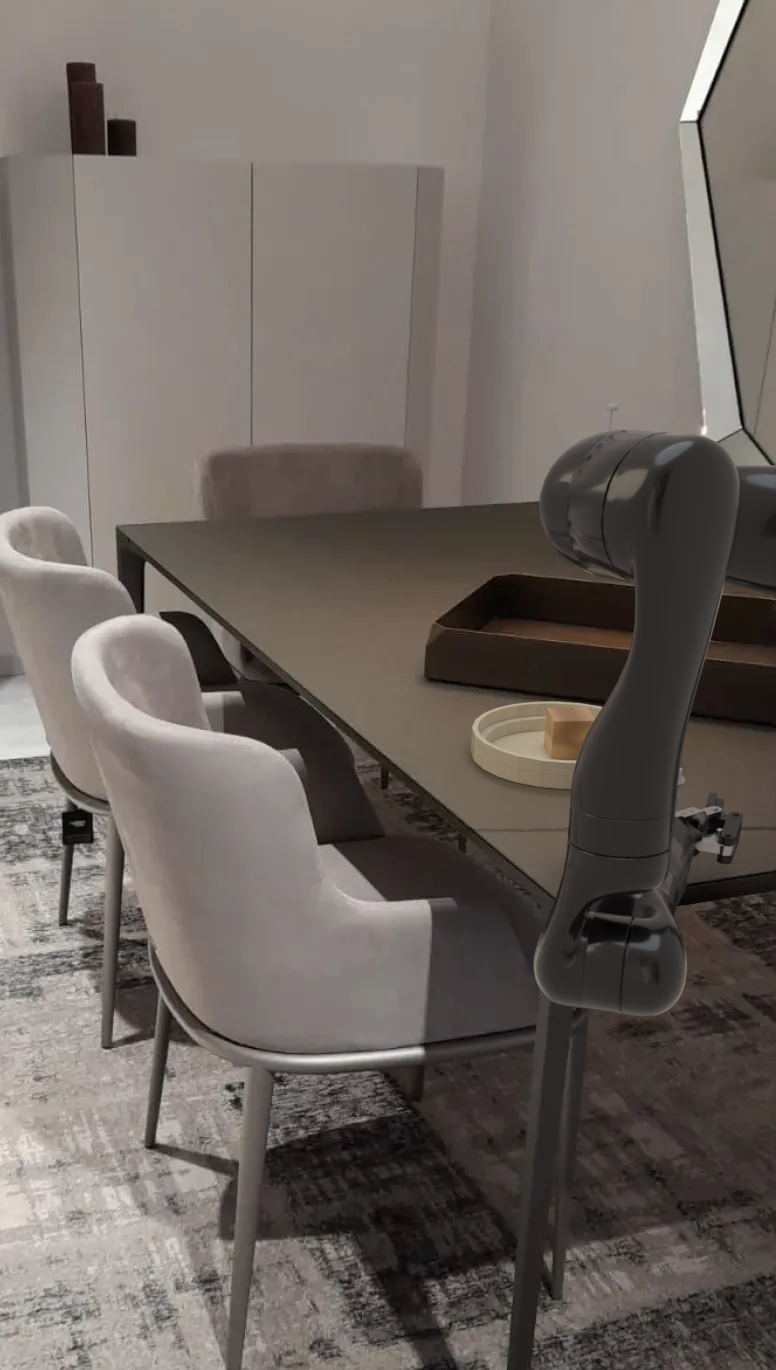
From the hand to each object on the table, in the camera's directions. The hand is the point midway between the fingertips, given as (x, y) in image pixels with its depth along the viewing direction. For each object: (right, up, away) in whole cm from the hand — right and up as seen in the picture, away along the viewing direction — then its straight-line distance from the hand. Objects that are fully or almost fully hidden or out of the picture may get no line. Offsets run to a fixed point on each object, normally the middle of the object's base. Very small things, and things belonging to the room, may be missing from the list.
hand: (663, 796), depth 125 cm
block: (-3, +6, +25) cm, 26 cm away
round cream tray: (-4, +6, +25) cm, 26 cm away
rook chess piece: (+1, -5, +4) cm, 6 cm away
